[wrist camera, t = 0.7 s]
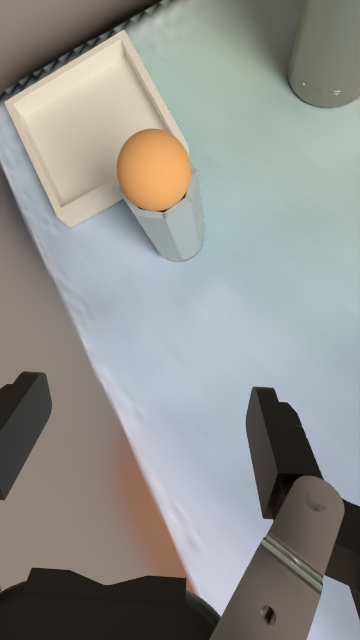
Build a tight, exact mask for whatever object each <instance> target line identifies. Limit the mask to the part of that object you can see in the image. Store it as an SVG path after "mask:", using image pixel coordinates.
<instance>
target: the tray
mask: <svg viewBox="0 0 360 640" xmlns="http://www.w3.org/2000/svg"><path fill="white" fill-rule="evenodd" d="M4 103H5V105H6V107H7V110H8V112H9V114H10V116H11V118H12V120H13V122H14V125H15V127H16V129H17V131H18V133H19V135H20V138H21V140H22V142H23V144H24V146H25V148H26V151H27V153H28V155H29V157H30V159H31V161H32V163H33V166H34V168H35V170H36V172H37V174H38V176H39V179H40V181H41V183H42V185H43V187H44V189H45V192H46V194H47V196H48V198H49V200H50V202H51V205H52V207H53V209H54V211H55V213H56V215H57V217H58V218H59V219H60V220H61V221H62V222H64V223H65V224H66V225H67V226H69V227H70V228H72V227H74V226H76V225H78V224H79V223H81V222H83V221H85V220H87V219H88V218H90V217H92V216H94V215H96V214H97V213H99V212H101V211H103V210H105V209H106V208H108V207H110V206H112V205H114V204H115V203H117V202H119V201H121V200H123V197H122V196H121V194H120V193H119V189H120V184H119V181H118V177H117V160H118V156H119V153H120V150H121V148H122V147H123V145H124V143H125V142H126V141H127V140H128V139H129V138H130V137H131V136H132V135H134V134H135V133H137V132H139V131H141V130H145V129H160V130H164V131H166V132H169V133H170V134H172V135H173V136H175V137H176V138H177V139H178V140H179V141H180V142H181V143H182V145H183V146H184V148H185V149H186V151H187V153H188V156H189V150H188V145H187V143H186V141H185V139H184V137H183V135H182V134H181V132H180V130H179V128H178V126H177V125H176V123H175V121H174V119H173V117H172V116H171V114H170V112H169V110H168V108H167V106H166V105H165V103H164V101H163V99H162V97H161V96H160V94H159V92H158V90H157V88H156V87H155V85H154V83H153V81H152V79H151V77H150V76H149V74H148V72H147V70H146V68H145V67H144V65H143V63H142V61H141V59H140V58H139V56H138V54H137V52H136V50H135V48H134V47H133V45H132V43H131V41H130V39H129V38H128V36H127V34H126V32H125V30H123V31H121V32H119V33H118V34H116V35H114V36H113V37H111V38H109V39H108V40H106V41H104V42H103V43H101V44H99V45H98V46H96V47H94V48H93V49H91V50H90V51H88V52H86V53H85V54H83V55H81V56H80V57H78V58H76V59H75V60H73V61H71V62H70V63H68V64H66V65H65V66H63V67H61V68H60V69H58V70H56V71H55V72H53V73H51V74H50V75H48V76H47V77H45V78H43V79H42V80H40V81H38V82H37V83H35V84H33V85H32V86H30V87H28V88H27V89H25V90H23V91H22V92H20V93H18V94H17V95H15V96H13V97H12V98H10V99H8V100H7V101H5V102H4ZM189 159H190V156H189Z"/></svg>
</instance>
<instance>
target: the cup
mask: <svg viewBox="0 0 360 640" xmlns="http://www.w3.org/2000/svg"><path fill="white" fill-rule="evenodd" d="M190 163H191V179H190V184H189V187H188V189H187V191H186V193H185V195H184V196H183V198H182V199H181V200H180V201H179V202H178V203H177V204H175V205H174V206H172V207H171V208H168V209H166V210H162V211H148V210H145V209H142V208H140V207H138V206H136V205H135V204H133V203H132V202H131V201H130V200H129V199H128V198H127V197H126V195H125V194H124V192H123V191H122V189H121V187H120V189H119V193H120V194H121V196H122V197H123V199H124V200H125V202H126V203H127V205H128V207H129V208H130V210H131V211H132V213H133V214H134V216H135V217H136V219H137V220H138V222H139V223H140V225H141V226H142V228H143V229H144V231H145V233H146V234H147V236H148V237H149V239H150V240H151V241H152V243H153V244H154V246H155V247H156V249H157V250H158V252H159V253H160V255H161V256H162V258H165V259H167V260H170V261H173V262H184V261H187V260H189V259H191V258H193V257H194V256H195V255H196V254H197V253H198V252H199V251H200V249H201V247H202V245H203V240H204V230H205V224H204V215H203V207H202V199H201V191H200V183H199V175H198V170H197V169H196V168H195V167H194V165H193V164H192V162H191V161H190Z"/></svg>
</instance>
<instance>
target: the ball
mask: <svg viewBox="0 0 360 640" xmlns="http://www.w3.org/2000/svg"><path fill="white" fill-rule="evenodd" d="M117 177H118V181H119V184H120V187H121V189H122V191H123V192H124V194H125V195H126V197H127V198H128V199H129V200H130V201H131V202H132V203H133V204H135V205H136V206H138V207H140V208H142V209H145V210H148V211H162V210H166V209H168V208H171V207H172V206H174V205H175V204H177V203H178V202H179V201H180V200H181V199H182V198H183V196H184V195H185V193H186V191H187V189H188V187H189V184H190V179H191V163H190V159H189V156H188V153H187V151H186V149H185V148H184V146H183V145H182V143H181V142H180V141H179V140H178V139H177V138H176V137H175V136H173V135H172V134H170V133H169V132H166V131H164V130H160V129H145V130H141V131H139V132H137V133H135V134H134V135H132V136H131V137H130V138H129V139H128V140H127V141H126V142H125V143H124V145H123V147H122V148H121V150H120V153H119V156H118V160H117Z"/></svg>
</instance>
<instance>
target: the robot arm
mask: <svg viewBox="0 0 360 640" xmlns="http://www.w3.org/2000/svg"><path fill="white" fill-rule="evenodd" d="M288 78H289V83H290V85H291V87H292V89H293V91H294V92H295V93H296V94H297V96H298V97H300V98H301V99H302V100H303V101H305V102H307V103H309V104H311V105H314V106H318V107H328V108H331V107H338V106H342V105H345V104H348V103H350V102H352V101H354V100H355V99H357V98H358V97H359V96H360V0H304V4H303V8H302V12H301V16H300V20H299V24H298V28H297V32H296V36H295V40H294V44H293V49H292V53H291V57H290V61H289V65H288ZM51 409H52V401H51V396H50V391H49V386H48V382H47V377H46V374H45V373H41V372H22V373H21V374H20V375H19V376H18V378H17V379H16V380H15V382H14V383H13V384H7V385H5V386H4V387H2V388H1V389H0V500H5V499H6V497H7V495H8V493H9V491H10V489H11V488H12V486H13V484H14V482H15V480H16V478H17V476H18V475H19V473H20V471H21V469H22V467H23V465H24V463H25V461H26V460H27V458H28V456H29V454H30V452H31V450H32V448H33V447H34V445H35V443H36V441H37V439H38V438H39V436H40V434H41V432H42V430H43V428H44V426H45V425H46V423H47V421H48V419H49V417H50V414H51ZM246 432H247V438H248V443H249V448H250V453H251V459H252V464H253V469H254V474H255V480H256V485H257V490H258V495H259V500H260V506H261V511H262V516H263V519H273V521H274V522H273V524H272V526H271V528H270V530H269V532H268V533H267V535H266V537H264V538H263V540H262V541H261V543H260V545H259V547H258V548H257V550H256V552H255V554H254V556H253V558H252V560H251V562H250V564H249V565H248V567H247V569H246V571H245V573H244V575H243V577H242V579H241V581H240V582H239V584H238V586H237V588H236V590H235V592H234V594H233V596H232V598H231V599H230V601H229V603H228V605H227V607H226V609H225V611H224V613H223V615H222V617H221V616H220V615H219V614H218V613H217V612H216V611H215V610H214V609H213V608H212V607H211V606H210V605H209V604H208V603H207V602H206V601H204V600H203V599H202V598H200V597H198V596H197V595H195V594H193V593H191V592H189V591H187V590H186V578H176V577H175V578H174V577H162V576H161V577H160V576H144V577H140V578H136V579H132V580H128V581H124V582H120V583H117V584H113V585H103V584H100V583H98V582H96V581H93V580H91V579H89V578H87V577H84V576H82V575H80V574H77V573H75V572H73V571H70V570H59V569H45V568H32V569H31V571H30V574H29V577H28V579H27V581H25V582H21V583H19V584H16V585H14V586H11V587H9V588H7V589H5V590H4V591H1V586H0V640H306V639H307V636H308V633H309V630H310V627H311V624H312V621H313V618H314V615H315V612H316V609H317V605H318V602H319V599H320V596H321V593H322V589H323V583H322V580H323V577H324V575H326V576H328V577H330V578H333V579H335V580H337V581H339V582H342V583H344V584H346V585H348V586H349V587H350V590H351V593H352V597H353V600H354V603H355V606H356V609H357V613H358V616H359V619H360V506H357V505H354V504H352V503H350V502H347V501H346V500H344V499H342V498H341V497H340V495H339V493H338V492H337V491H336V490H335V489H334V487H332V486H331V485H330V484H329V483H327V482H326V481H324V479H323V477H322V475H321V472H320V470H319V467H318V465H317V462H316V460H315V457H314V455H313V452H312V449H311V447H310V444H309V442H308V439H307V438H306V434H305V432H304V429H303V428H302V424H301V422H300V419H299V417H298V414H297V413H296V412H295V410H294V409H293V408H292V407H291V406H290V405H289V404H288V403H287V402H279V401H278V398H277V395H276V392H275V390H274V388H268V387H253V388H252V391H251V396H250V401H249V405H248V410H247V415H246Z"/></svg>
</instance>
